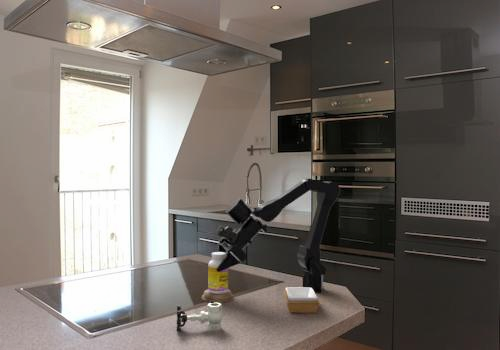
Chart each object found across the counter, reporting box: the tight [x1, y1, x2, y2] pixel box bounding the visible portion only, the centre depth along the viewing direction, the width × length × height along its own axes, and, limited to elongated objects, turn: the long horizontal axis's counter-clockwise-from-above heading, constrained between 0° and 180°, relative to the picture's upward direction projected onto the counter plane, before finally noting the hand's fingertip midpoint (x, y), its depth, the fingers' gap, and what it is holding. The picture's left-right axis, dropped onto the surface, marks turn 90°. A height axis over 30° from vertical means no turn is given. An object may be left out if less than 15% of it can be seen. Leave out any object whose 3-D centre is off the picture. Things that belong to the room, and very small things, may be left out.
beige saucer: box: [201, 288, 234, 304], centre depth 136 cm, size 10×10×2 cm
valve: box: [176, 302, 223, 332], centre depth 109 cm, size 7×7×12 cm
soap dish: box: [283, 286, 320, 314], centre depth 128 cm, size 12×10×5 cm
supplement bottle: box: [207, 251, 229, 294], centre depth 136 cm, size 7×7×13 cm
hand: (214, 267), depth 136 cm, fingers open, 9 cm apart
